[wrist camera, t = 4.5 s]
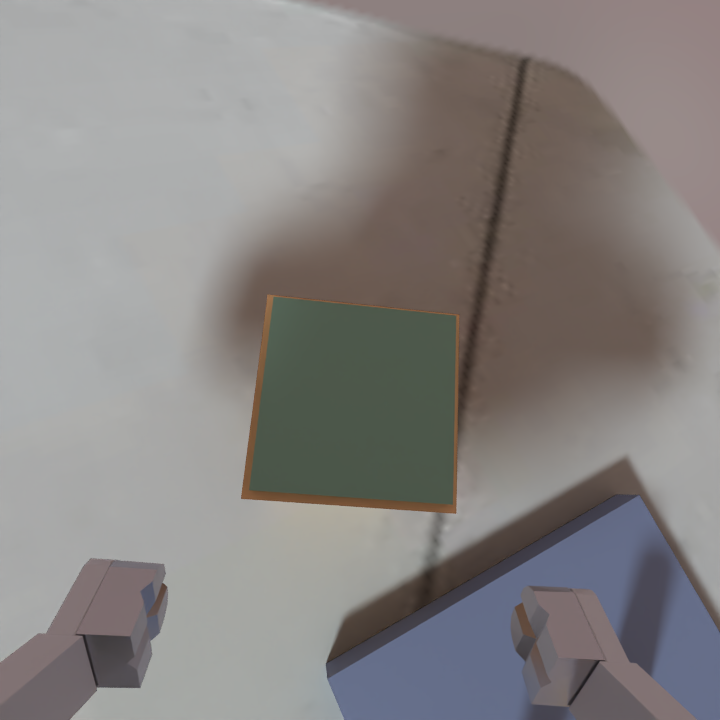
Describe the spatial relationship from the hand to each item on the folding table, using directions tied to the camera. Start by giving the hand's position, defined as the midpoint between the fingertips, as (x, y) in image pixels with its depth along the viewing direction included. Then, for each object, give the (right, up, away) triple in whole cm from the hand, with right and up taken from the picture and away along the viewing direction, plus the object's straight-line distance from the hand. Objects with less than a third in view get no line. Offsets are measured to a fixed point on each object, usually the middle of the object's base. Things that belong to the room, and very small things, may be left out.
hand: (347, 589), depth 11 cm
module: (-1, +2, +10) cm, 10 cm away
